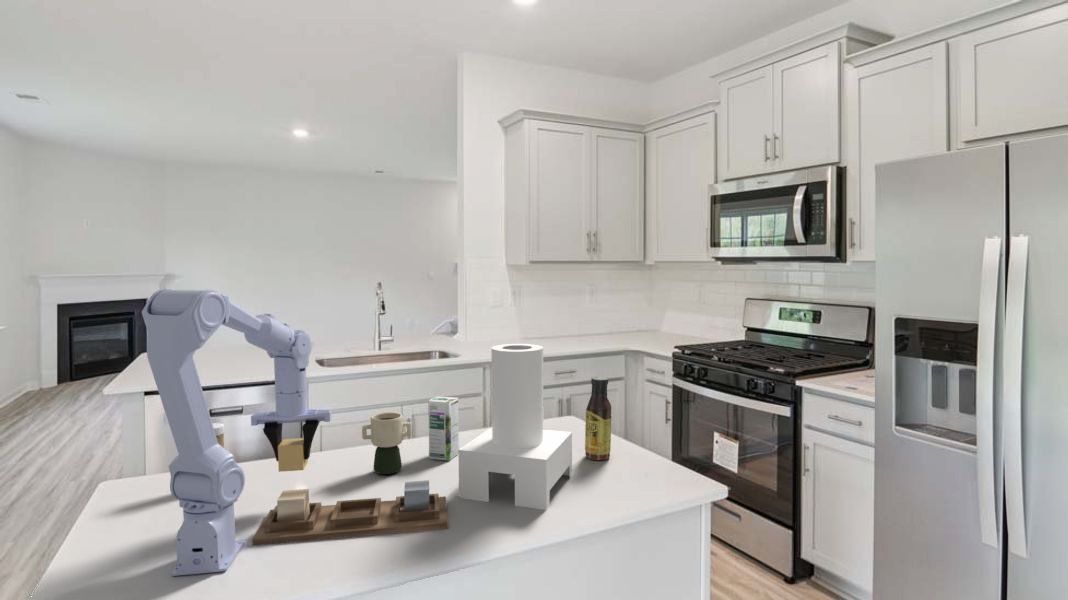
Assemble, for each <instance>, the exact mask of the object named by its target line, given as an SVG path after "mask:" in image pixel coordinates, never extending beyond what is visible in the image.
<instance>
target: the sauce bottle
mask: <svg viewBox="0 0 1068 600" xmlns="http://www.w3.org/2000/svg"><path fill="white" fill-rule="evenodd" d="M590 383H591V394H590V397H589V401H588V403H587V405H586V409H585V428H584V429H585V433H584V434H585V435H584V436H585V438H584V452H585V457H586V458H587V459H589V460H591V461H592V460H593V461H595V462H596V461H604V460H608V459H609V458H610V456H611V455H610V454H611V442H612V404H611V402H610V400H609V399H608V384H609V378H608V377H606V376H599V375H597V376H596V375H595V376H592V377H591V379H590Z"/></svg>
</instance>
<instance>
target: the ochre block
mask: <svg viewBox="0 0 1068 600" xmlns="http://www.w3.org/2000/svg"><path fill="white" fill-rule="evenodd" d="M308 460H309V458H308V459H305V460H304V438H303V437H301V438H297V437H296V438H285V439H284V438H282V442H281V443H280V444H279V445H278V461H277V463H278V472H295V471H297V472H298V471H304V470H305V468H306V467H307V465H308V463H309V461H308Z"/></svg>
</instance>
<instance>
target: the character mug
mask: <svg viewBox="0 0 1068 600" xmlns="http://www.w3.org/2000/svg"><path fill="white" fill-rule="evenodd" d="M403 419H404V416H403V414H402V413H401V412H396V411H395V412H393V411H391V412H390V411H389V412H380V413H375V414H373V415H371V417H370V424H364V425H362V427H361V438H362V439H363V440H370V441H371V443H372V445H373V446H374V447H376V449H375V451H374V460H373V471H374V472H375V473H377V474H381V475H391V474H394V473H397V472H398V471H400V470H401V469H402V468H403V467H402V464H403V463H402V457H401V453H400V452H401V451H400V447H399V445H400V444H402V442H403V440H404V437H410V436H412V434H413V433H412V422H411V421H410V422H409V421H406V422H404V420H403ZM404 427H406V431H405V432H404ZM367 430H370V434H367V432H368V431H367Z"/></svg>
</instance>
